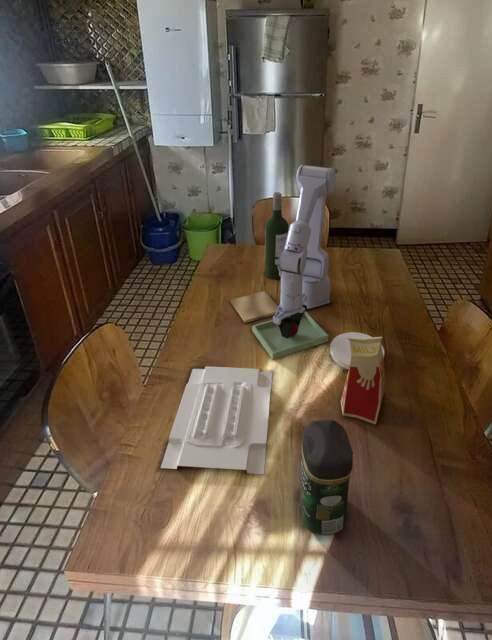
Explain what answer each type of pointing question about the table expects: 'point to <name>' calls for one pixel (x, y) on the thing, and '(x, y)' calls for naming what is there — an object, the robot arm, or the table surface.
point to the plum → (294, 329)
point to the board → (255, 306)
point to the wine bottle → (275, 238)
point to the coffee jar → (325, 476)
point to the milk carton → (364, 380)
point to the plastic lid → (344, 348)
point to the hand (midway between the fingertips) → (289, 332)
